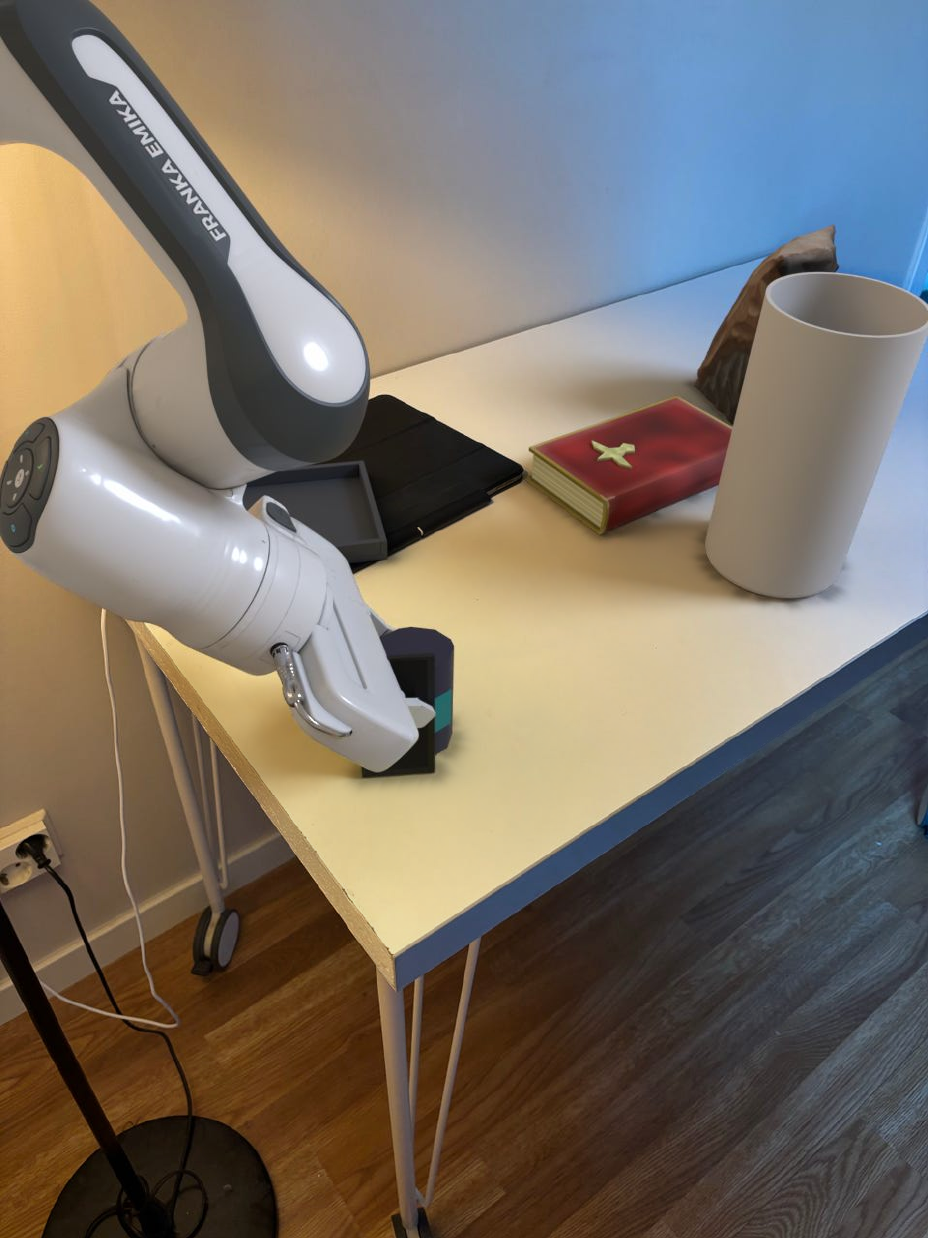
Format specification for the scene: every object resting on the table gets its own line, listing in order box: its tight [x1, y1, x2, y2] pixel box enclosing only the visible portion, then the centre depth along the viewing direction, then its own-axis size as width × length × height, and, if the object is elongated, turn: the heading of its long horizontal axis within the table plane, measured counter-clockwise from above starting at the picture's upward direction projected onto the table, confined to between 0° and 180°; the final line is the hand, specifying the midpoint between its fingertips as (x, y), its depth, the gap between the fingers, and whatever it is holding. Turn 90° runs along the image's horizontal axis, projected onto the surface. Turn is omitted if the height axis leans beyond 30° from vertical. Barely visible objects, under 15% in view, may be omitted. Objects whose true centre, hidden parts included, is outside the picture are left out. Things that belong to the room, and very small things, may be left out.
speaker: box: [360, 626, 455, 779], centre depth 68 cm, size 8×6×10 cm
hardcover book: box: [525, 394, 733, 536], centre depth 99 cm, size 12×21×4 cm, turn 125°
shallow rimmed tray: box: [242, 460, 388, 564], centre depth 91 cm, size 17×14×2 cm
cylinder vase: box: [704, 272, 928, 599], centre depth 82 cm, size 12×12×25 cm
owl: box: [693, 224, 840, 425], centre depth 106 cm, size 13×13×20 cm
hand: (411, 679), depth 69 cm, fingers closed on speaker, 6 cm apart
